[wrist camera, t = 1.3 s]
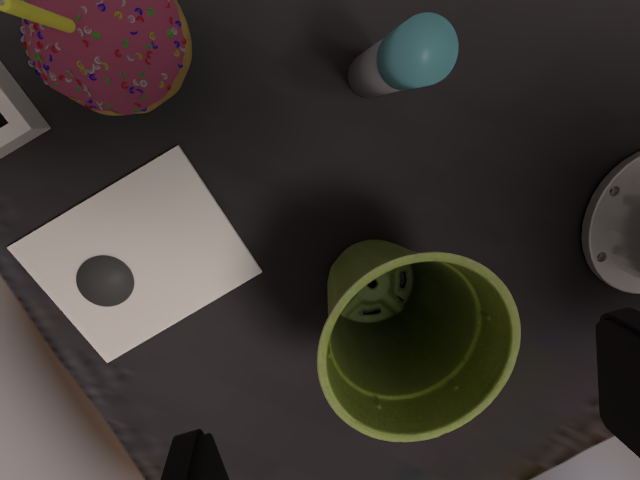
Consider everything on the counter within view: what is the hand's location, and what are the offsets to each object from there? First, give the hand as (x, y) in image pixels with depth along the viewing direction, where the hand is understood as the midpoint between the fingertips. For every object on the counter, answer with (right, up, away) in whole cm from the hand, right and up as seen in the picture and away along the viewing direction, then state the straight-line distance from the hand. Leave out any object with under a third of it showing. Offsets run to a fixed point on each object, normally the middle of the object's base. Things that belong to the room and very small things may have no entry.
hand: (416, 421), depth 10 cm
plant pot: (+2, +1, +25) cm, 25 cm away
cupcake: (-14, +17, +18) cm, 28 cm away
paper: (-15, +3, +21) cm, 27 cm away
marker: (+1, +16, +20) cm, 26 cm away
